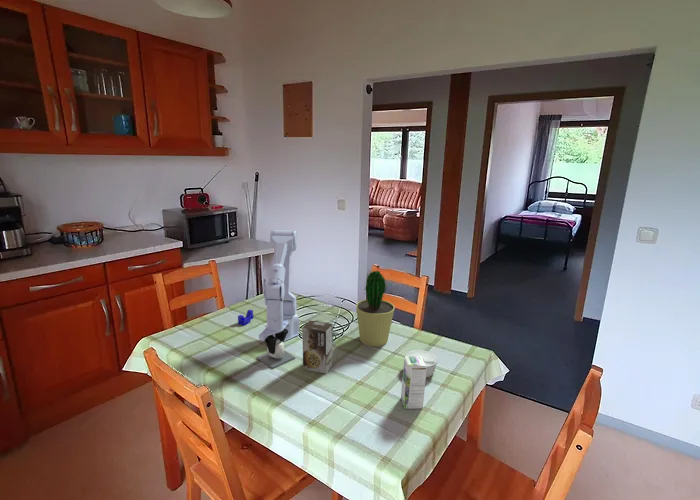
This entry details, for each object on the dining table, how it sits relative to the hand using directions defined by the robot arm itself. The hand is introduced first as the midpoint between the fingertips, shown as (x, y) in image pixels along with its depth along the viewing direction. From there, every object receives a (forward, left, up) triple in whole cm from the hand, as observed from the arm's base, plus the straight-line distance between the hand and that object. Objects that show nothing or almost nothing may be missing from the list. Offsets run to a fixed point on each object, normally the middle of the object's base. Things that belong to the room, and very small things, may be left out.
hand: (275, 350), depth 136 cm
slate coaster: (0, 0, -3) cm, 3 cm away
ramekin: (-31, +42, -4) cm, 52 cm away
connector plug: (0, 0, -2) cm, 2 cm away
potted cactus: (-37, +16, -3) cm, 40 cm away
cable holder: (-10, -35, -4) cm, 36 cm away
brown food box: (-7, +15, -3) cm, 17 cm away
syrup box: (-14, +50, -3) cm, 52 cm away
